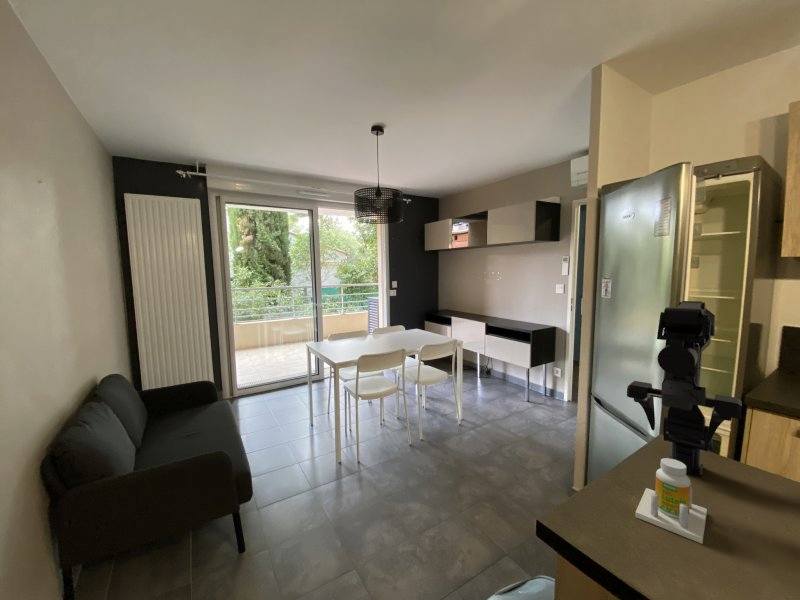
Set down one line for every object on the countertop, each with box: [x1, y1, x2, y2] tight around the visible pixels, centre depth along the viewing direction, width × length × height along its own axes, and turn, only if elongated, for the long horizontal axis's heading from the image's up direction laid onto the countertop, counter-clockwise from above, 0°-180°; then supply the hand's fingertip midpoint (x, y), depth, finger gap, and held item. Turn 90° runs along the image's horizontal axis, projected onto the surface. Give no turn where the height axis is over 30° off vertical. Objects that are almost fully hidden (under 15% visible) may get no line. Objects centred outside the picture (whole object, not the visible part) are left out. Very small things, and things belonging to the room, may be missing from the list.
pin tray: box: [634, 486, 708, 545], centre depth 68 cm, size 11×10×5 cm
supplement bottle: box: [654, 457, 692, 518], centre depth 68 cm, size 5×5×10 cm
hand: (679, 436), depth 74 cm, fingers open, 9 cm apart
